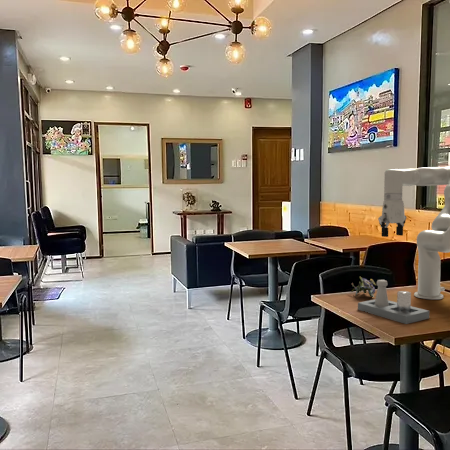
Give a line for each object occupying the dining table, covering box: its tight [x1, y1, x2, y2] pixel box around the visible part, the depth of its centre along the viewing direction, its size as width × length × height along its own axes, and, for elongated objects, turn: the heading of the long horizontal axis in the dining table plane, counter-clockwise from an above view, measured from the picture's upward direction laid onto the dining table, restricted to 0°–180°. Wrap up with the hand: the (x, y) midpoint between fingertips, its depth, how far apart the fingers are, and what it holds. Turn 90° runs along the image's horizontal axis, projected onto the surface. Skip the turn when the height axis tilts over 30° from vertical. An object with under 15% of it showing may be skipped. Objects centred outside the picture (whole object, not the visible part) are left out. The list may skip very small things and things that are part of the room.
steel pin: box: [396, 290, 412, 314], centre depth 177 cm, size 5×5×10 cm
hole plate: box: [357, 298, 430, 325], centre depth 182 cm, size 14×24×3 cm, turn 30°
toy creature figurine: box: [351, 276, 377, 298], centre depth 211 cm, size 11×11×12 cm
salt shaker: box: [374, 279, 389, 307], centre depth 186 cm, size 6×6×13 cm
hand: (392, 235), depth 197 cm, fingers open, 9 cm apart
